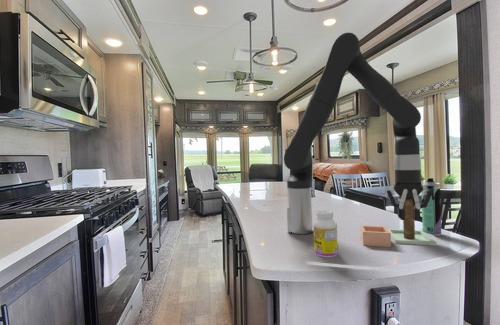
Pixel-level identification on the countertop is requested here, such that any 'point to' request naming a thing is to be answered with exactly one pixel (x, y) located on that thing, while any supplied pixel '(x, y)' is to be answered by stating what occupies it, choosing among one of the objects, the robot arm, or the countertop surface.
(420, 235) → the tray
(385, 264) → the countertop surface
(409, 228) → the dowel
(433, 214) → the spray can
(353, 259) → the countertop surface
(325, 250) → the supplement bottle
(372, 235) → the peach planter box
